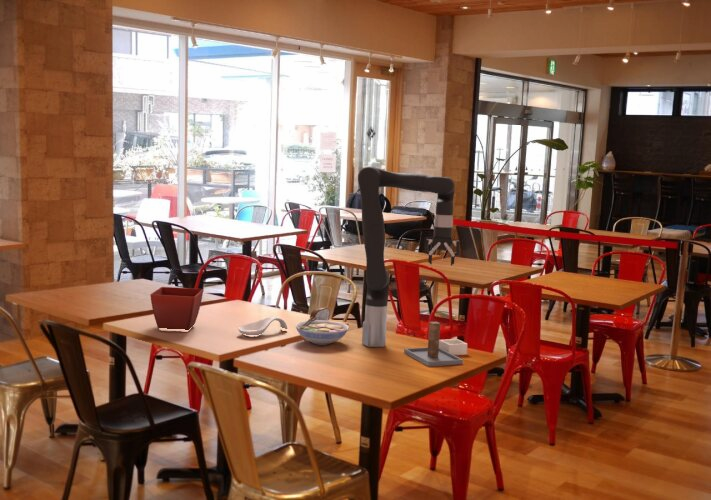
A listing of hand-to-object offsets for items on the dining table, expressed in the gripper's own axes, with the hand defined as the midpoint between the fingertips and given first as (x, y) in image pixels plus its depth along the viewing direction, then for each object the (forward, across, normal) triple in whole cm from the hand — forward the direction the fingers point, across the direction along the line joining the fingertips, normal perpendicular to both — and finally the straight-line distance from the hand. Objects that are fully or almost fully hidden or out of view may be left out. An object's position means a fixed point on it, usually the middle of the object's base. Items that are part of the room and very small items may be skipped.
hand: (441, 264), depth 332 cm
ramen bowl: (+36, +48, +2) cm, 60 cm away
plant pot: (+36, +114, -3) cm, 119 cm away
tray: (+36, +1, +14) cm, 39 cm away
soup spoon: (+36, +55, -31) cm, 73 cm away
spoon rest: (+37, +76, -6) cm, 84 cm away
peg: (+36, +1, +14) cm, 38 cm away
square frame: (+36, -7, +2) cm, 37 cm away
